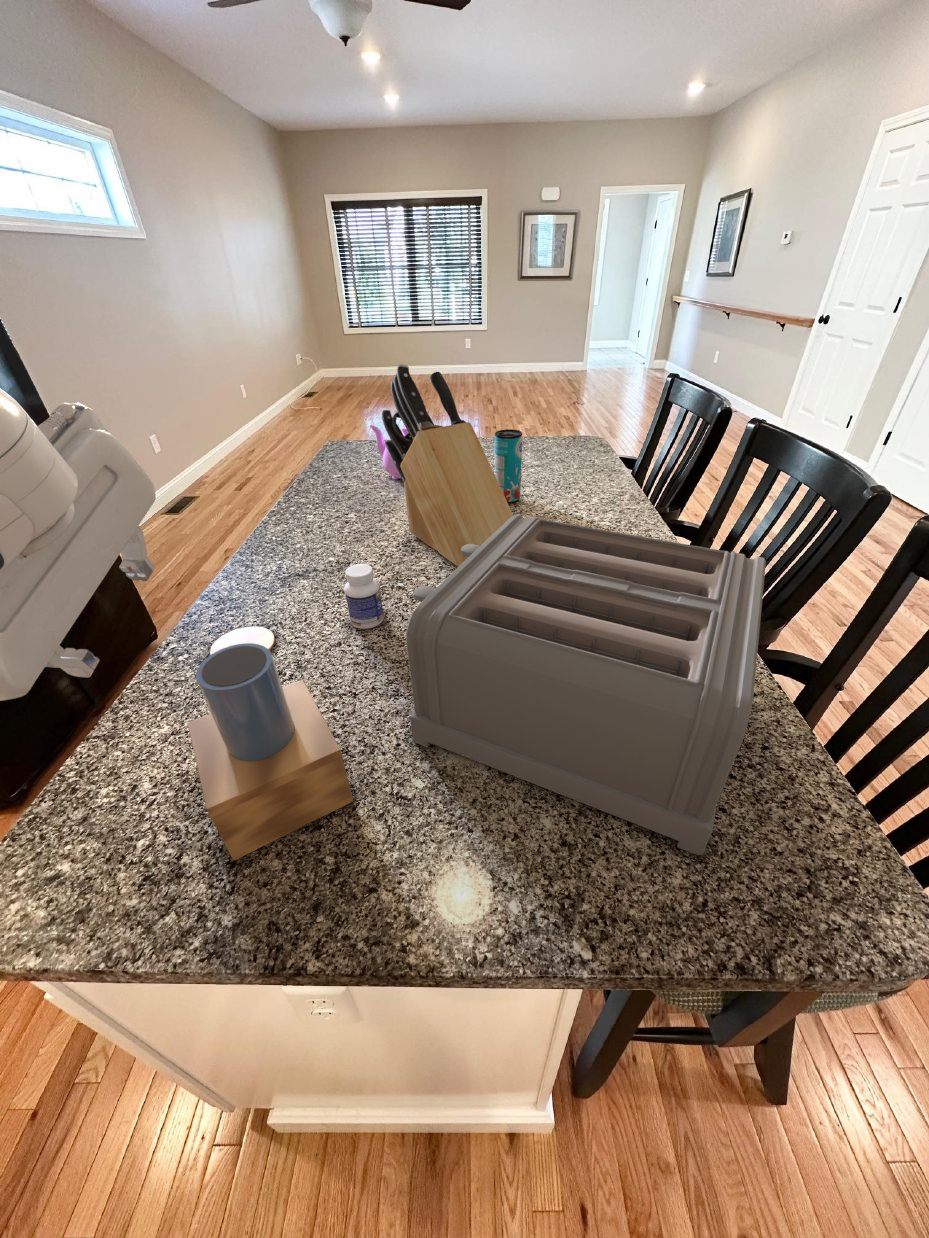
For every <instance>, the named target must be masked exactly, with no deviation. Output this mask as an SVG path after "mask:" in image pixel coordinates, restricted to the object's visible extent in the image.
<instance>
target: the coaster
mask: <svg viewBox="0 0 929 1238" xmlns="http://www.w3.org/2000/svg"><path fill="white" fill-rule="evenodd" d="M275 638H276V637H275V634H274V633H273V632H272V631H271V630H270V629H268V628H266V627H262V626H257V625H255V626H254V625H253V626H252V625H251V626H244V627H240V628H239V627H238V628H236V629H233V630H231V631H228V632H227V633H224V634H223V635H221V636H219V638H217V639H216V640H215V641H214V642H213V643H212V645H211V647H210V650H209V656H210V655H212V654H213V653H215V652H217V651H219V650H221V649H223V648H226V647H229V646H233V645H237V644H245V643H252V644H259V645H262V646H264V647H266V648H267V649H269V650H270V651H271V650H272V648H273V647H274V646H275V643H276V639H275Z"/></svg>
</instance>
